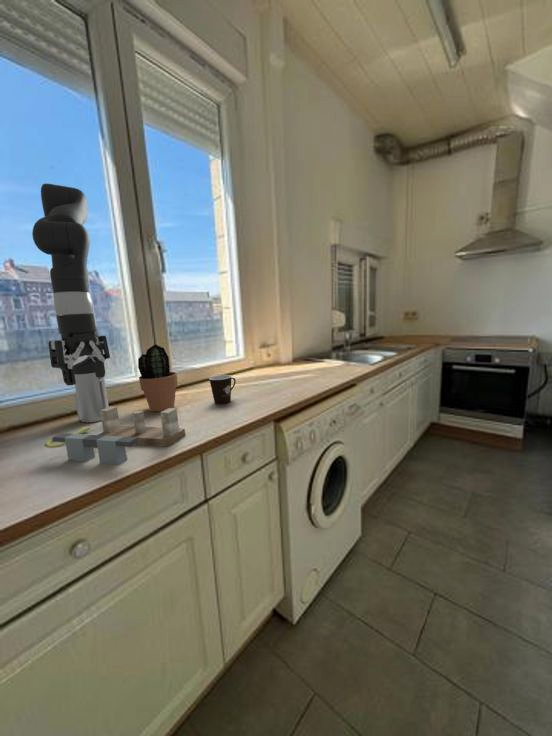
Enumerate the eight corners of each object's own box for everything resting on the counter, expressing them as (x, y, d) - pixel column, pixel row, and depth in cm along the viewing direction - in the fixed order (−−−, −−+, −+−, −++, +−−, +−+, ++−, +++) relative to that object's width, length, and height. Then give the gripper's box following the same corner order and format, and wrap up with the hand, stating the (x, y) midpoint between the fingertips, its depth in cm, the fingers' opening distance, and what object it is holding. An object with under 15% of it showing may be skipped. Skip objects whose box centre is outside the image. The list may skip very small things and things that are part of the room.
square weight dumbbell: (56, 459, 81) (52, 437, 80) (66, 454, 84) (62, 432, 83) (132, 466, 75) (129, 442, 74) (140, 460, 77) (137, 437, 76)
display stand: (97, 441, 91) (92, 412, 90) (118, 431, 99) (114, 404, 97) (169, 446, 85) (165, 415, 83) (185, 435, 92) (181, 406, 91)
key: (92, 432, 101) (91, 425, 101) (61, 448, 89) (60, 441, 89) (72, 432, 102) (71, 426, 102) (39, 448, 90) (38, 441, 90)
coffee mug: (215, 406, 120) (212, 381, 118) (209, 401, 127) (206, 377, 126) (243, 401, 125) (241, 376, 123) (236, 396, 133) (234, 373, 131)
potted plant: (180, 401, 130) (173, 341, 126) (181, 410, 118) (173, 343, 113) (144, 406, 126) (136, 344, 122) (141, 416, 114) (132, 347, 109)
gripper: (87, 313, 81) (97, 375, 84) (32, 314, 67) (46, 388, 70) (111, 311, 79) (120, 374, 82) (59, 312, 65) (73, 388, 68)
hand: (86, 380), depth 76 cm, fingers open, 8 cm apart
